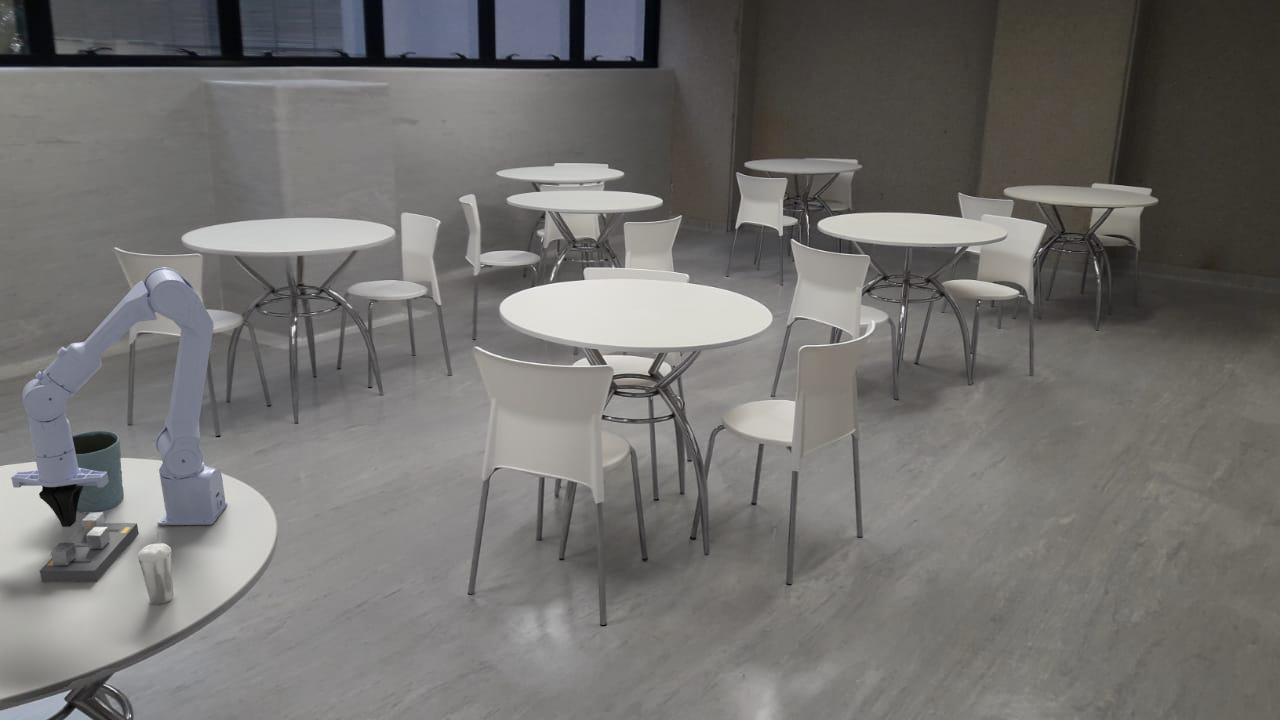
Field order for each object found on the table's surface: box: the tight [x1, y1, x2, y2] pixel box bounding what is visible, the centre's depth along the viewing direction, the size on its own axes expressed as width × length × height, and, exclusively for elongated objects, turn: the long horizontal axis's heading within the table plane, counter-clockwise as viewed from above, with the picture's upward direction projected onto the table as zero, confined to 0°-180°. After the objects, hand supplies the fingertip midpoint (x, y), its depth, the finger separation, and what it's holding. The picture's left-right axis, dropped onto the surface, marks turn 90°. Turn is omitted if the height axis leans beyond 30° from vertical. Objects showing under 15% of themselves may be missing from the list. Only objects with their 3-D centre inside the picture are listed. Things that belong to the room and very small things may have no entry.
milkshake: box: [137, 531, 175, 605], centre depth 151 cm, size 4×5×10 cm
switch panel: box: [39, 522, 139, 583], centre depth 163 cm, size 8×15×2 cm, turn 2°
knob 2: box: [81, 511, 107, 533], centre depth 167 cm, size 2×3×2 cm
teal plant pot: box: [72, 430, 125, 514], centre depth 179 cm, size 10×10×12 cm
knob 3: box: [86, 527, 110, 549], centre depth 162 cm, size 2×3×2 cm
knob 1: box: [50, 542, 77, 565], centre depth 157 cm, size 2×3×2 cm
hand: (69, 523), depth 167 cm, fingers closed
